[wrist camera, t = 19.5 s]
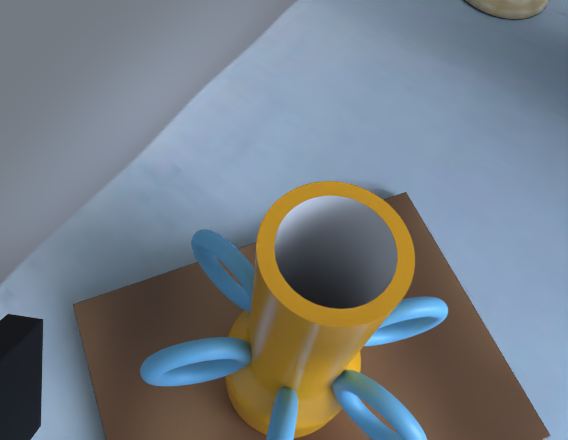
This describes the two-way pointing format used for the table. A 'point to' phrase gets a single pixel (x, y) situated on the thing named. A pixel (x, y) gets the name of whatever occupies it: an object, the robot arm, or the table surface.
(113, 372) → the plate
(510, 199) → the table surface
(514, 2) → the hand bell
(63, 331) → the table surface
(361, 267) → the cylinder
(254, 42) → the table surface
